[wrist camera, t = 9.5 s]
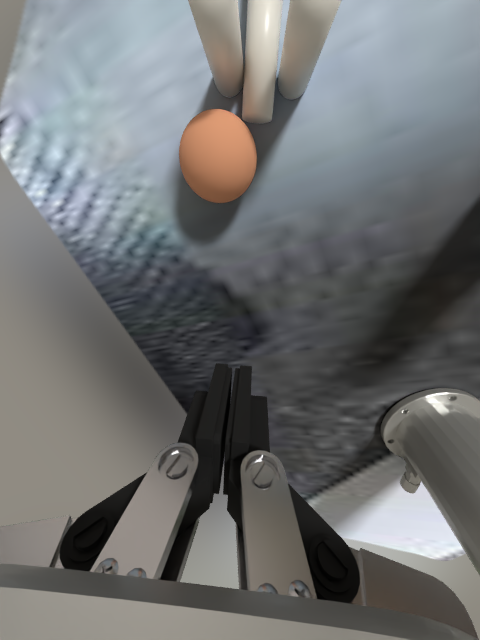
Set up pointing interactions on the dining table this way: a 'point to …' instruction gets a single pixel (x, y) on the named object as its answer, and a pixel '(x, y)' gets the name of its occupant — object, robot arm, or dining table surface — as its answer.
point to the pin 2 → (304, 43)
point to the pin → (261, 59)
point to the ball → (218, 155)
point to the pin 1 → (221, 42)
